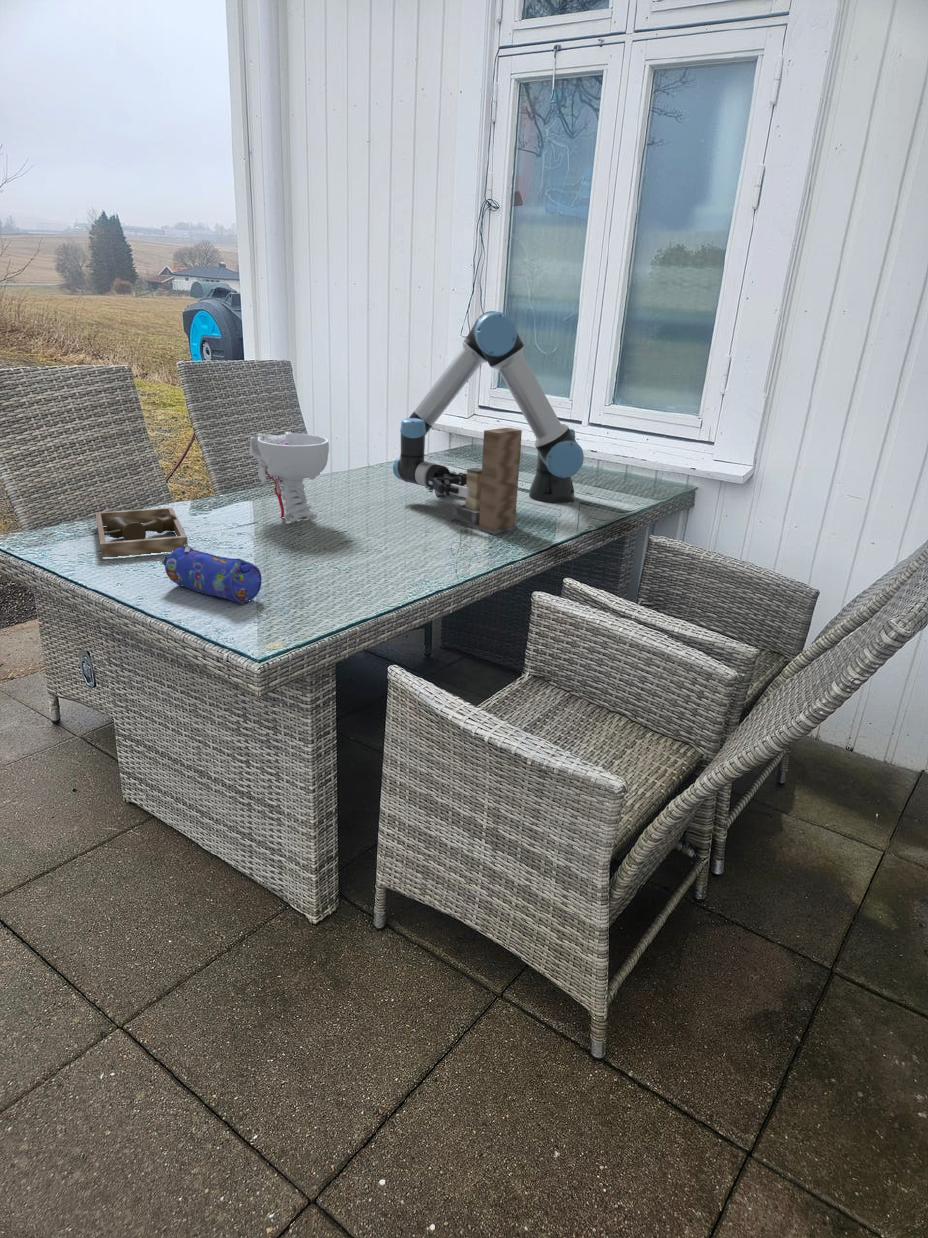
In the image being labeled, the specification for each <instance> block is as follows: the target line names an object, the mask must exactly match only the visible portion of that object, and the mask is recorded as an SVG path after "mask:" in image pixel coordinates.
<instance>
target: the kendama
mask: <svg viewBox="0 0 928 1238" xmlns="http://www.w3.org/2000/svg"><path fill="white" fill-rule="evenodd" d="M177 518H178V517H177ZM177 518H176V517H175V515H173V514H168V515H167V516H166V517H164V518H159V517H155V518H154V519H153V521H150V522H148V523H145V524H141V523H139V522H132V523H129V524H127V522H126V521H125V519H124V518H121V517H114V518H112V519H110V520H109V521H108V523H107V528H106V532H105V531H104V535H105V536H109V537H110V538H112V539H120V538H119V537H121V538H123V541H127V540H140V539H146V537H147V532H154V533H155V532H156V533H158V534H163V533H164V532H171V531H175V529H174V520H176V519H177Z"/></svg>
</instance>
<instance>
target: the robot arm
mask: <svg viewBox="0 0 928 1238" xmlns="http://www.w3.org/2000/svg"><path fill="white" fill-rule="evenodd" d="M524 349H525V344H524V343H523V341H522V339H521V337H520V335H519V333H518V332H517V328H516V325H515V323H514V321H513V319H512V318H511V317H510V316H508V315H507V314H506V313H504V312H500V311H494V310H490V311H486V312H484V313H481V315H480V316H478V318H477V319H476V321H475V323H473V326H472V327H471V329H470V331H469V332H468V334H467V335H466V337H465V338H464V339H463V341H462V348H461V349H460V351H459V352H458V353H457V354H456V356H455V357H454V359H453V360H451V362H450V364H448V366H447V367H446V368H445V370H444V371H443V373H442V374H441V375H440V377H439V378H438V379H437V380H436V382H435V383H434V385H433V386H432V387H431V388H430V389H429V391H428V393H426V395H425V396H424V397H423V399H422V400H421V402H420V403H418V405H417V407H415V409H414V411H413V412H412V413H411V415H410V416H409V417H408V418H403V419H401V423H400V431H399V432H400V453H399V454H400V455H399V456H398V457H397V458H395V460H394V464H393V465H392V471H393V474H394V476H395V477H396V478H397V479H399V480H401V481H404V482H405V483H409V484H413V485H417V486H418V485H419V486H422V487H424V488H425V489H427V490H428V489H431V490H434V489H435V490H436V491H438V492H439V493H441V494H443V493H444V492H446V495H445V497H446V496H451V495H450V494H452V495H454V496H459V497H461V496H462V498H465V499H466V498H469V488H467V487H466V482H467V473H464V472H459V473H457V474H455V473H450V471H451V470H450V469H449V468H448V467H447V466H445V465H441V464H437V463H434V462H430V461H425V455H426V454H425V452H426V451H425V448H426V446H425V445H426V435H428V433H429V432H430V430H431V429H432V427H433V426H434V425H435V423H436V422H437V421H438V419H439V418H440V417H441V416H442V415H443V413H444V412H445V411H446V409H447V408H448V407H449V406H450V404H451V403H452V402H453V401H454V399H455V398H456V397H457V395H458V394H459V393H460V392H461V390H462V389H463V387H465V386H466V384H467V383H468V382H469V380H470V379H471V377H472V376H474V374H475V372H476V371H477V370H478V369H479V368H480V366H481V365H482V364H485V363H488V365H489V366H490V368H492V369H495V370H497V371H498V373H499V375H500V376H501V377H502V379H503V381H504V383H505V385H506V386H507V388H508V390H509V393H511V395H512V397H513V399H514V400H515V403H516V404H517V406H518V408H519V410H520V412H521V413H522V415H523V417H524V418H525V420H526V422H527V424H528V425H529V427H530V429H531V431H532V432H533V434H534V437H535V439H536V440H535V442H534V447H535V448H536V450H537V457H536V458H537V459H536V461H537V462H536V470H535V475H534V478H533V480H532V482H531V485H530V488H529V492H528V494H529V496H528V497H529V498H531V499H533V500H535V501H540V502H545V503H568V502H569V503H570V502H571V501H574V499H575V487H574V485H573V480H572V476H574V475H575V474H577V473H578V472H579V471H580V470H581V468H582V467H583V464H584V460H585V456H584V451H583V448H582V447H581V445H580V444H579V443H578V442H577V440H576V431H575V429H573V428H569V426H568V425H567V424H563V423H561V421H560V420H559V418H558V416H557V414H556V412H555V410H554V409H553V407H552V405H551V403H550V402H549V399H548V398H547V396H546V394H545V392H544V390H543V389H542V387H541V385H540V383H539V381H538V379H537V378H536V377H537V376H535V374H534V372H533V370H532V368H531V367H530V364H529V363H528V361H527V359H526V357H525V355H524ZM459 481H460V482H461V484H459ZM463 485H465V487H463ZM435 490H434V491H435Z"/></svg>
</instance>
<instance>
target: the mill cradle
mask: <svg viewBox="0 0 928 1238" xmlns="http://www.w3.org/2000/svg"><path fill="white" fill-rule="evenodd" d="M94 513H95V518H96V519H95V520H96V524H97V525H96V526H97V533H98V538H99V540H98V541H99V545H100V546H99V547H100V552H102V553H101V557H118V556H129V555H141V554H151V553H161V552H172V551H175V550H176V549H177V548H179V547H181V546H184V544H187V545H188V546H189V544H188V543H189V542H188V536H187V535H186V532H185V530H184V528H183V526H182V524H181V522H180V520H179V518H178V516H177V513H176V512H175V510H174V508H173V507H172V506H171V507H159V508H156V507H155V508H145V509H144V508H143V509H129V510H127V509H126V510H115V511H113V510H112V511H100V512H98V511H97V512H94ZM168 514H173V515H175V517H176V518H177V519H176V520H174V529H175V533H176V535H177V537H176V536H168V537H167V536H166V537H155V538H154V537H153V538H145V539H140V540H127V541H124V540H118V541H106V537H105V536H106V535H104V533H105V531H104V528H103V526H107V523H108V521H109V520H110V519H112V518H114V517H121V518H124V519H125V521H126V522H127V524H129V523H132V522H139V523H148V522H150V521H153V519H154V518H155V517H159V518H164V517H166V516H167V515H168ZM175 533H174V534H175Z"/></svg>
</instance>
